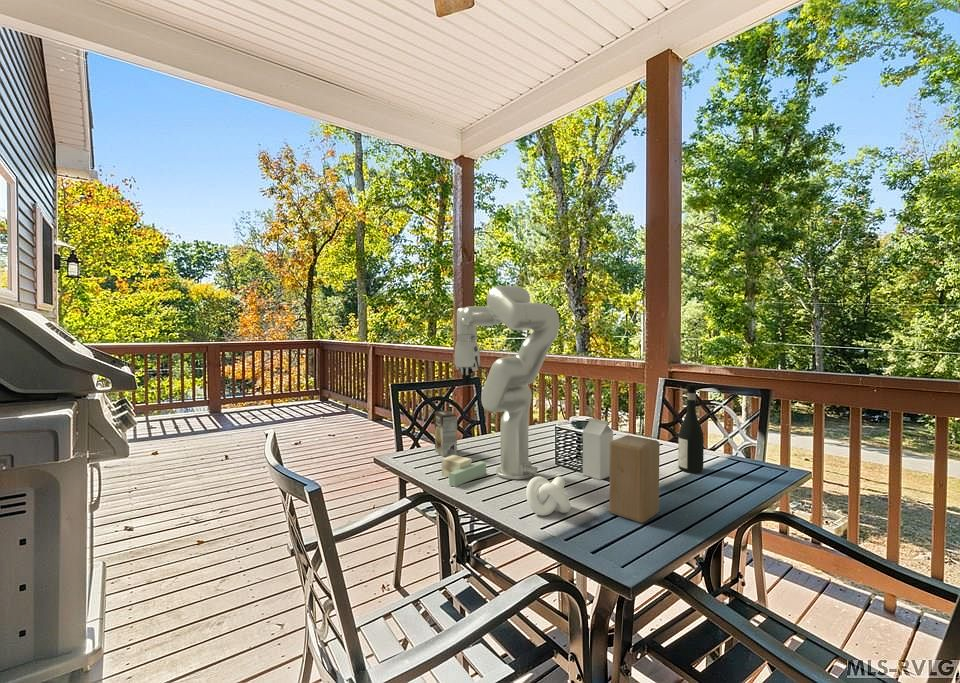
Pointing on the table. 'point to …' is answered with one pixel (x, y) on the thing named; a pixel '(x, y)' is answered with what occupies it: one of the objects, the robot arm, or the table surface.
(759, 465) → the table surface
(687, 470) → the wine bottle
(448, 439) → the coffee box
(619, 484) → the wooden block
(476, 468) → the board
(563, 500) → the white knot
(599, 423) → the milk carton
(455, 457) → the birch block
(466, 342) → the robot arm
